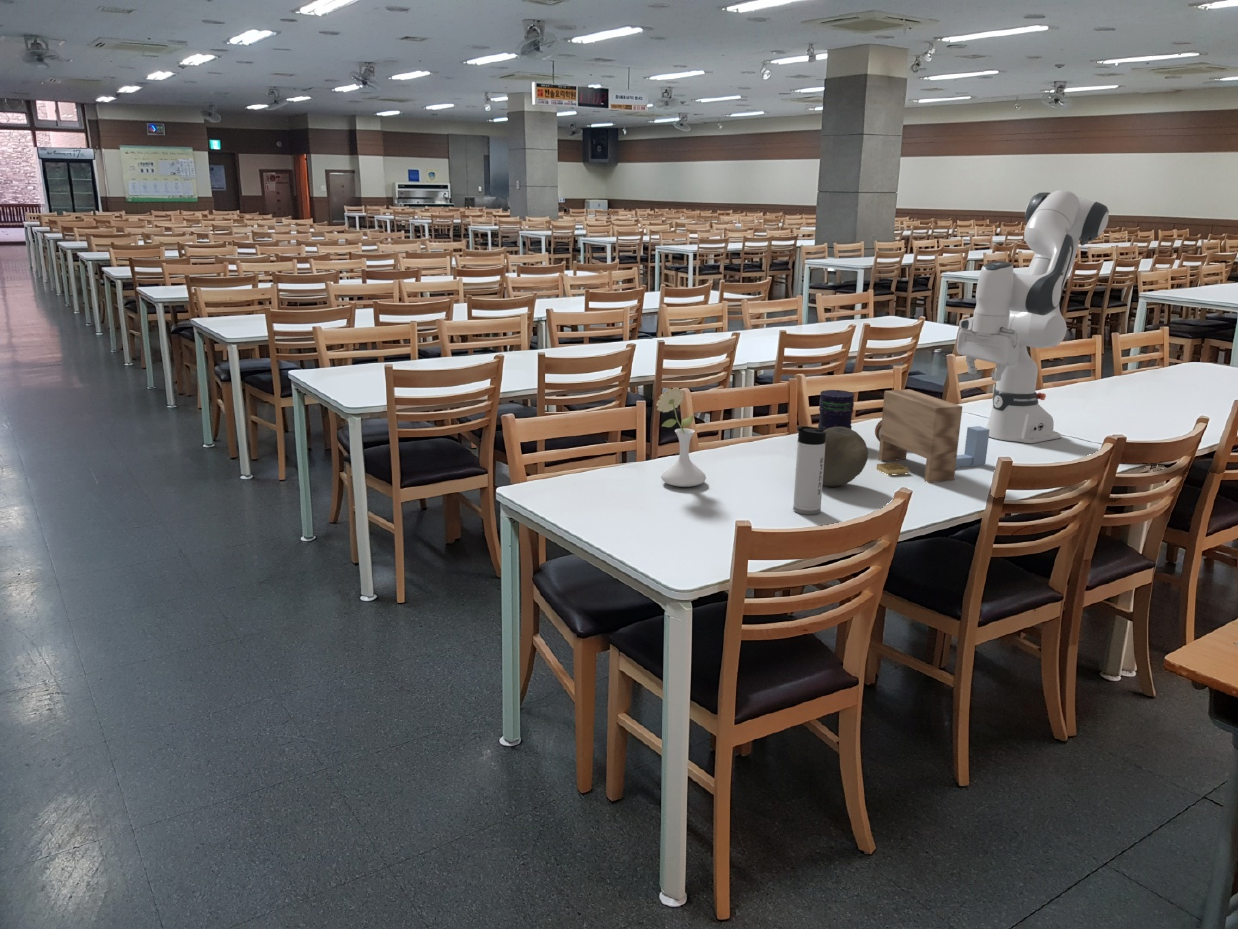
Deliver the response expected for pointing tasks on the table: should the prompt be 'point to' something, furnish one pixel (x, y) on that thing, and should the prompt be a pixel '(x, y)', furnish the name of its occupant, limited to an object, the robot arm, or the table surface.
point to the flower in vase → (683, 468)
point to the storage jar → (835, 409)
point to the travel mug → (809, 470)
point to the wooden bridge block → (921, 431)
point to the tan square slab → (892, 468)
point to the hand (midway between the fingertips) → (983, 377)
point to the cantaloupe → (843, 456)
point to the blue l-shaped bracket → (974, 447)
